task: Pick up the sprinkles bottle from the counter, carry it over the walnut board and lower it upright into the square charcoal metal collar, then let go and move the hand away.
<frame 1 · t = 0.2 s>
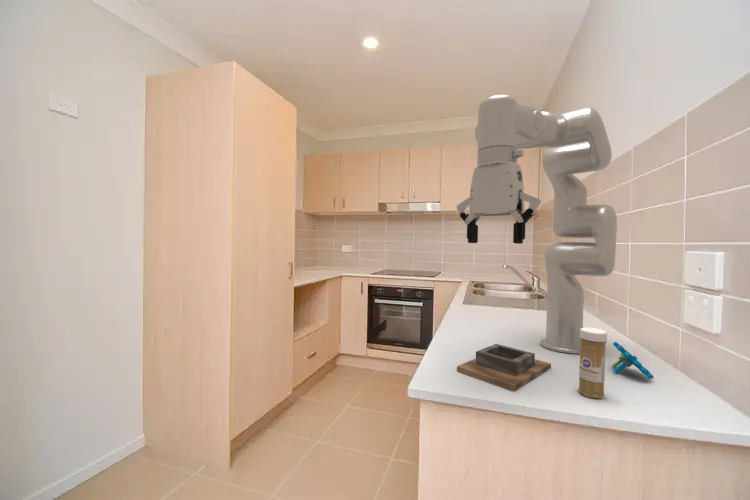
hand: (494, 243, 68), 31 cm above the worktop, tool pointing down, fingers open, 9 cm apart
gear: (630, 375, 79), on the worktop
sprinkles bottle: (591, 395, 67), on the worktop
caddy: (504, 369, 80), on the worktop
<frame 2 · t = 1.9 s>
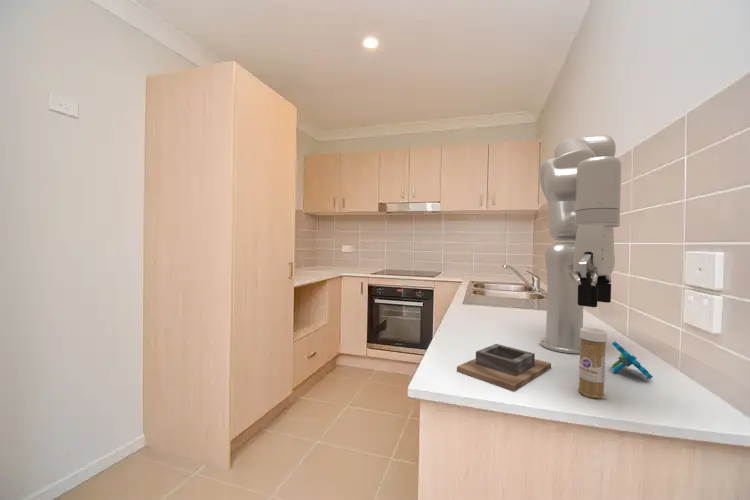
hand: (594, 303, 67), 19 cm above the worktop, tool pointing down, fingers open, 9 cm apart
nothing on the worktop moved.
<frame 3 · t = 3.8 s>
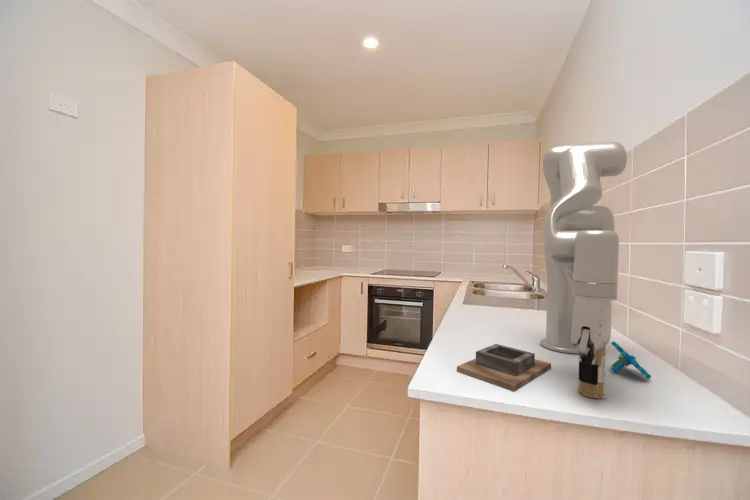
hand: (591, 378, 67), 3 cm above the worktop, tool pointing down, fingers closed on sprinkles bottle, 4 cm apart
sprinkles bottle: (591, 395, 67), on the worktop, touching gripper
everything else where it was.
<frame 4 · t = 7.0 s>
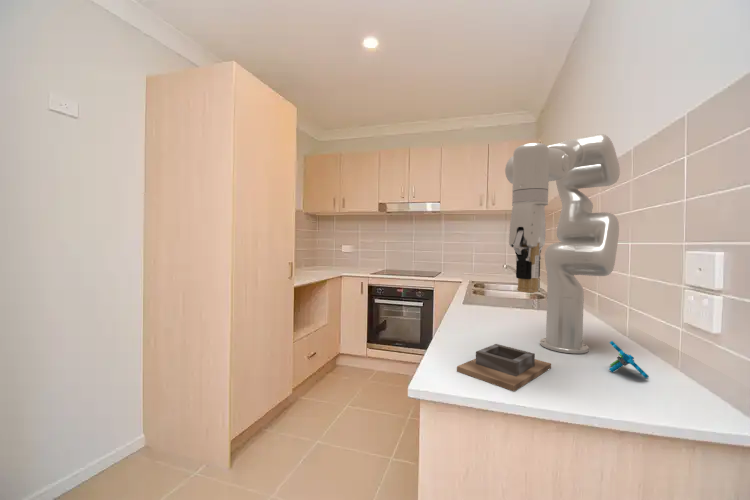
hand: (528, 277, 76), 23 cm above the worktop, tool pointing down, fingers closed on sprinkles bottle, 4 cm apart
sprinkles bottle: (527, 292, 76), point 20 cm above the worktop, touching gripper
everything else where it was.
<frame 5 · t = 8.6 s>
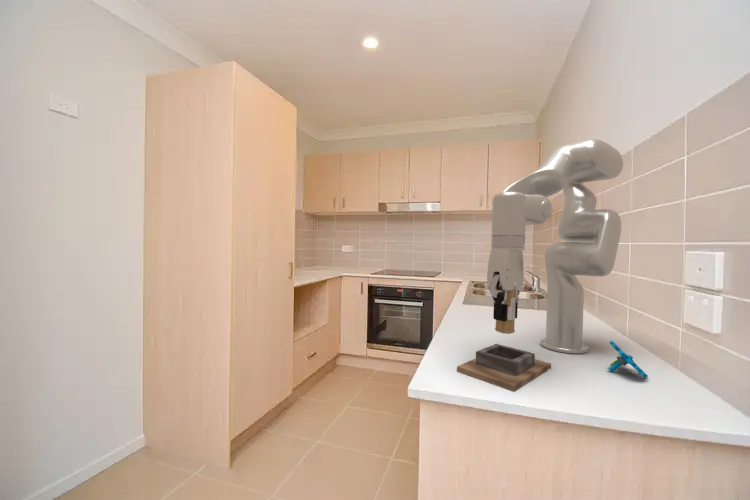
hand: (505, 318, 80), 13 cm above the worktop, tool pointing down, fingers closed on sprinkles bottle, 4 cm apart
sprinkles bottle: (504, 332, 80), point 9 cm above the worktop, touching gripper
everything else where it was.
when the fingers open (6 cm above the worktop, at t = 10.1 s): sprinkles bottle drops 2 cm, resting on caddy.
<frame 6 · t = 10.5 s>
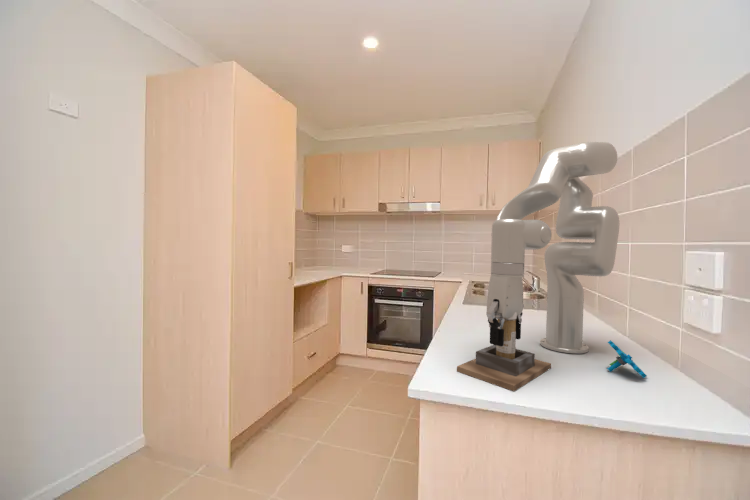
hand: (505, 341, 80), 7 cm above the worktop, tool pointing down, fingers open, 8 cm apart
sprinkles bottle: (505, 365, 80), point 1 cm above the worktop, touching caddy
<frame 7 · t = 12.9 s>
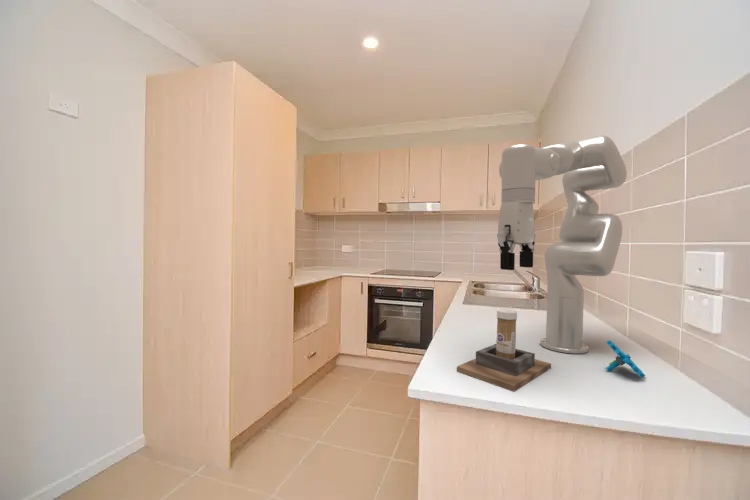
hand: (517, 268, 80), 25 cm above the worktop, tool pointing down, fingers open, 9 cm apart
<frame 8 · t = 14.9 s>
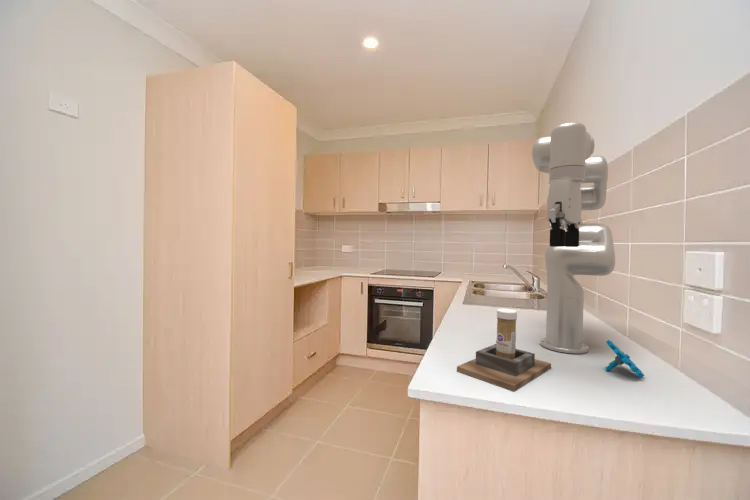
hand: (564, 246, 80), 30 cm above the worktop, tool pointing down, fingers open, 9 cm apart
at the end: sprinkles bottle 0.3 cm off-centre on the caddy, point 1.0 cm above the caddy's base; sprinkles bottle tilted 0°; the gripper is holding nothing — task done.
